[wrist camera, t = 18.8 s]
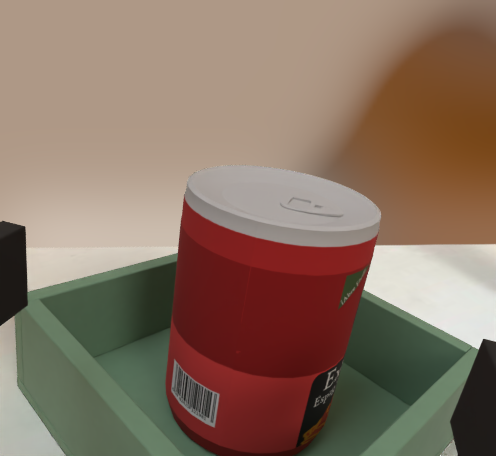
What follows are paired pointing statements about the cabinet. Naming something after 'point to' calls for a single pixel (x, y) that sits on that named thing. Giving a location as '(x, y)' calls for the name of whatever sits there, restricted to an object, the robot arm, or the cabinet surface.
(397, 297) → the cabinet surface
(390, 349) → the tote
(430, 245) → the cabinet surface
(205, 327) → the canned food
